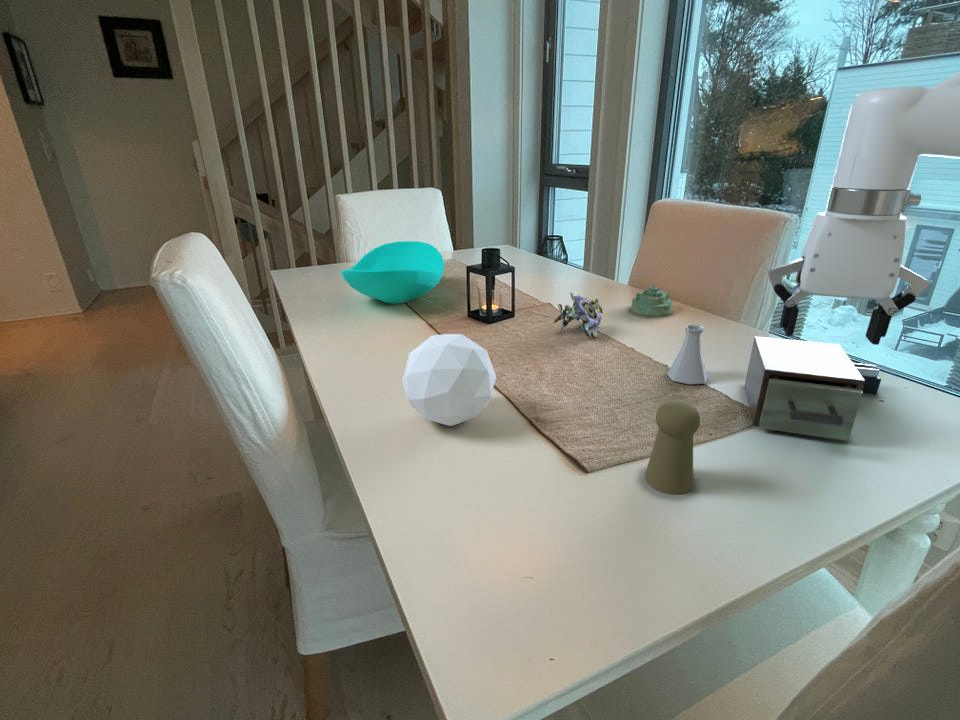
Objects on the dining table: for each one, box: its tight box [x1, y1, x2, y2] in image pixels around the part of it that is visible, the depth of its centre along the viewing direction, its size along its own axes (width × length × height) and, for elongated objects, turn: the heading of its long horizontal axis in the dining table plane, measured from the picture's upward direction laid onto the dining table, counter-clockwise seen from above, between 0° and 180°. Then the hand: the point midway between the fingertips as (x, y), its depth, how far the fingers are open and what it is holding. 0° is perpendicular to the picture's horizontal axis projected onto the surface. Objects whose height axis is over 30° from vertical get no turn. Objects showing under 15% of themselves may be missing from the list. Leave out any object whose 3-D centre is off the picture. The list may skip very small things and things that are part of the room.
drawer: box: [758, 375, 864, 442], centre depth 78 cm, size 18×11×8 cm, turn 159°
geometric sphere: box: [401, 333, 497, 427], centre depth 81 cm, size 14×15×15 cm
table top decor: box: [340, 240, 446, 304], centre depth 145 cm, size 40×28×13 cm
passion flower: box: [553, 292, 604, 338], centre depth 117 cm, size 11×11×12 cm
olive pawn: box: [644, 400, 701, 495], centre depth 65 cm, size 6×6×11 cm
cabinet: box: [744, 335, 865, 427], centre depth 82 cm, size 15×13×10 cm
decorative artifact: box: [630, 283, 674, 317], centre depth 132 cm, size 10×7×10 cm
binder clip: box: [852, 362, 882, 396], centre depth 89 cm, size 5×3×4 cm, turn 69°
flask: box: [666, 323, 708, 385], centre depth 94 cm, size 7×7×10 cm
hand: (828, 336), depth 68 cm, fingers open, 9 cm apart
